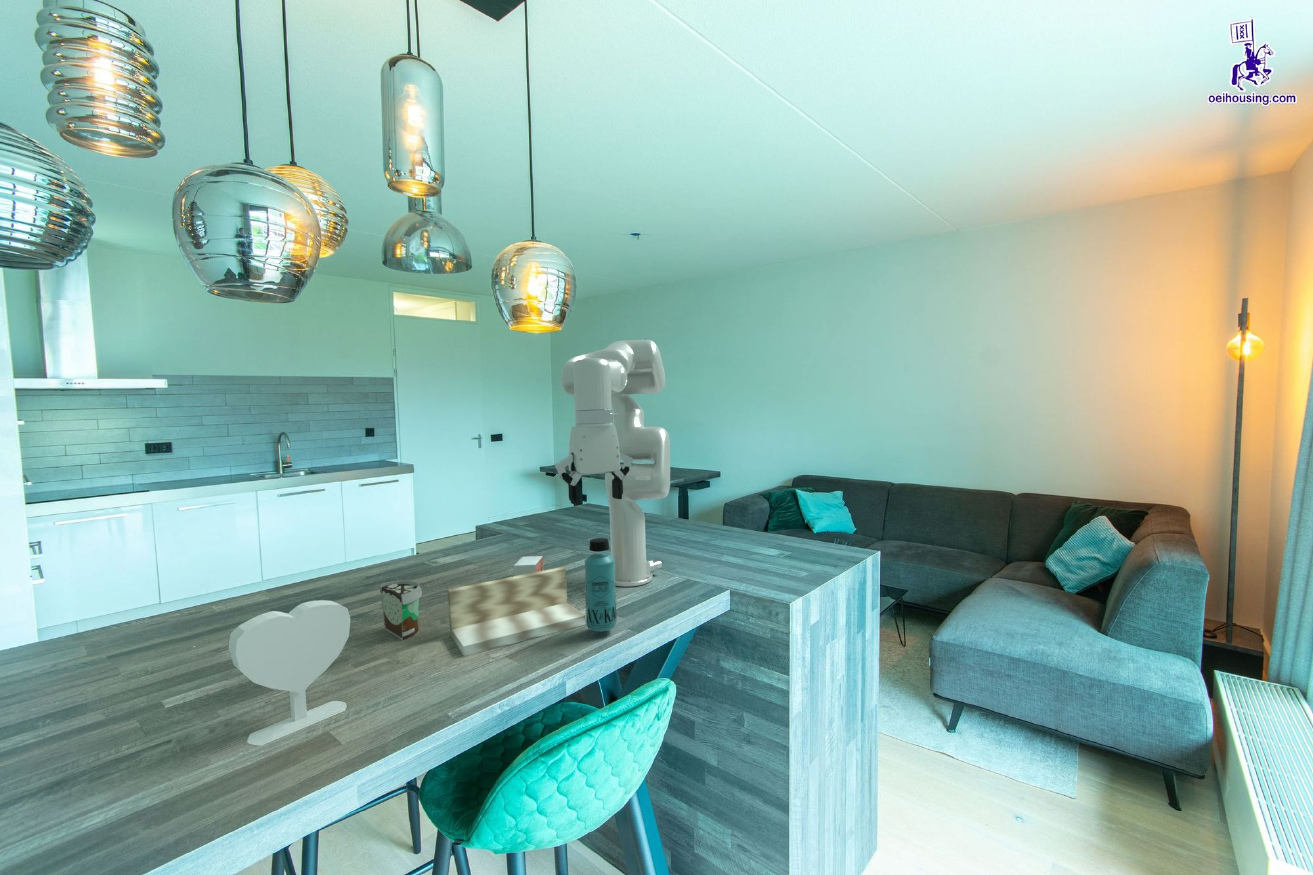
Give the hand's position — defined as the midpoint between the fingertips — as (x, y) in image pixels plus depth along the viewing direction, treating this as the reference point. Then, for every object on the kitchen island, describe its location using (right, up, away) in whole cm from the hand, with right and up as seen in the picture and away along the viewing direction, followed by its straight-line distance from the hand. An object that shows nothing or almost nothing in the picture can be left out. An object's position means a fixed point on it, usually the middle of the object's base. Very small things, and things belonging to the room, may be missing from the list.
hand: (596, 501), depth 116 cm
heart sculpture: (-44, -32, -29) cm, 61 cm away
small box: (-19, -28, +21) cm, 40 cm away
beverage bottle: (+1, -28, +2) cm, 28 cm away
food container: (-42, -29, +7) cm, 52 cm away
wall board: (-17, -28, +4) cm, 33 cm away
